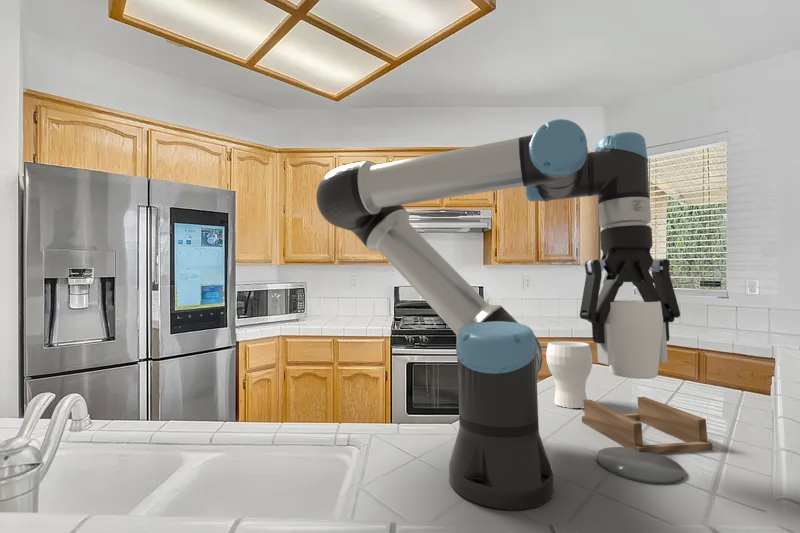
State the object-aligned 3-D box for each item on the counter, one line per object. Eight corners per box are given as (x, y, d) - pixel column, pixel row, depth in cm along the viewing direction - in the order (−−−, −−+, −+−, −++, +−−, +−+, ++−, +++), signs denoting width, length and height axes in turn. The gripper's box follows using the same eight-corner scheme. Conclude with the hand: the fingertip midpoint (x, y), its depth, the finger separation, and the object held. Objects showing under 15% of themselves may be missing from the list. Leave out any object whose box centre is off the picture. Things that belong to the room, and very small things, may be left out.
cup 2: (600, 377, 62) (596, 302, 62) (604, 367, 69) (601, 300, 70) (668, 383, 57) (663, 302, 58) (665, 372, 64) (660, 300, 65)
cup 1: (596, 402, 97) (594, 342, 98) (592, 413, 88) (588, 347, 89) (552, 396, 103) (550, 340, 104) (544, 406, 94) (541, 345, 95)
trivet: (629, 487, 55) (629, 482, 56) (581, 452, 67) (581, 449, 67) (704, 481, 57) (704, 476, 57) (644, 448, 69) (644, 444, 69)
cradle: (639, 455, 66) (637, 425, 66) (582, 422, 83) (580, 398, 83) (712, 450, 67) (710, 421, 68) (641, 418, 84) (640, 395, 85)
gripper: (577, 222, 60) (584, 369, 58) (702, 223, 62) (712, 364, 61) (552, 230, 67) (558, 360, 66) (665, 230, 70) (673, 356, 68)
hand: (632, 362), depth 63 cm, fingers closed on cup 2, 9 cm apart
